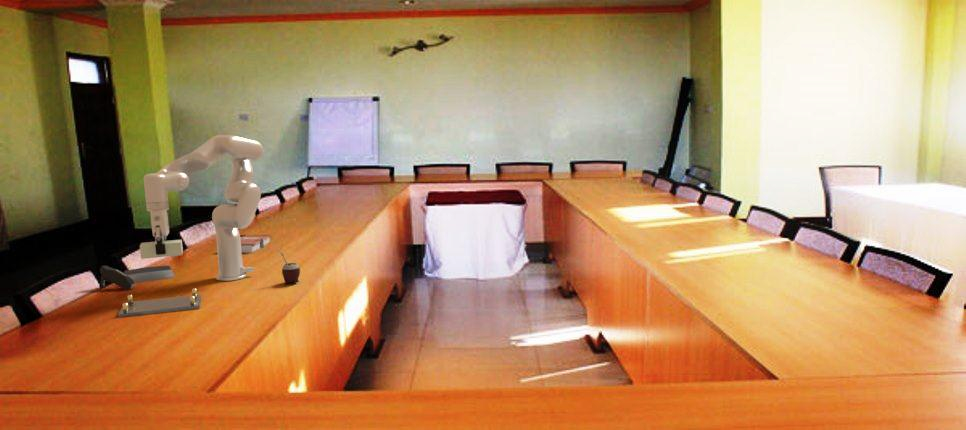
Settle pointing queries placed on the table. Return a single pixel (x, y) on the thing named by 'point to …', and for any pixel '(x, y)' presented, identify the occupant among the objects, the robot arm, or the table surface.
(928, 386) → the table surface
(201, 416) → the table surface
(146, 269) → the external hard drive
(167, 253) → the pale grey rectangular block
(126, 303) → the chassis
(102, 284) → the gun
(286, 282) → the mate gourd
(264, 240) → the book
